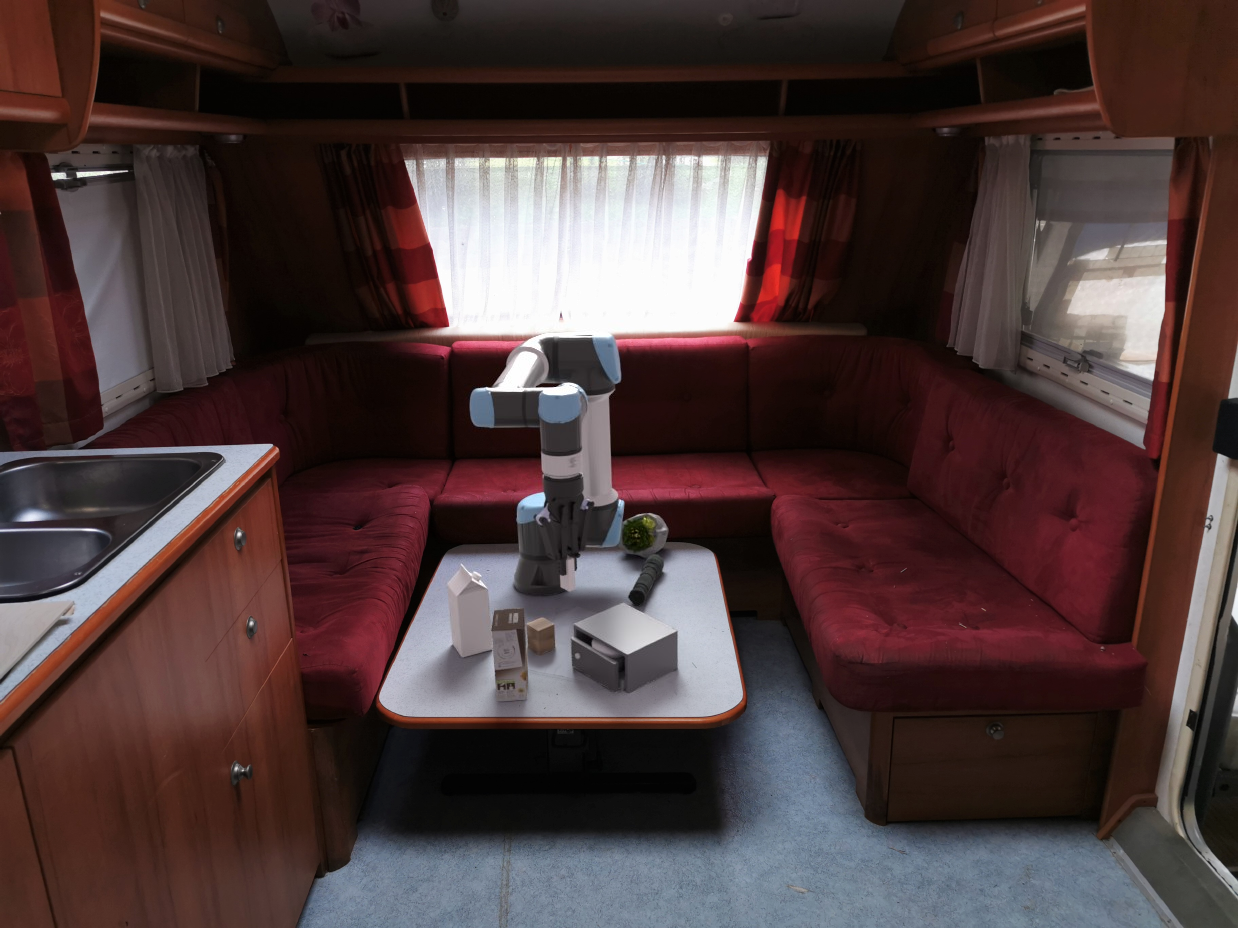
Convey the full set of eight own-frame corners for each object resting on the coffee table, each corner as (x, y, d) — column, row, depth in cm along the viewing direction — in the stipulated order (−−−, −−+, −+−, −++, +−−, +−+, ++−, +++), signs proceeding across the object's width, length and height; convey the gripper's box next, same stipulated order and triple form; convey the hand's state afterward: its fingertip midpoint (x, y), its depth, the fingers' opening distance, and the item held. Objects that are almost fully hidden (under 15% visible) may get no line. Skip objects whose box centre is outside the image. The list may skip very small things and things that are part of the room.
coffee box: (528, 700, 181) (523, 629, 176) (496, 702, 181) (490, 631, 176) (528, 675, 190) (524, 607, 185) (498, 677, 189) (492, 608, 184)
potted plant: (678, 535, 250) (668, 543, 235) (642, 563, 252) (630, 571, 238) (651, 501, 251) (639, 506, 236) (616, 528, 254) (602, 535, 239)
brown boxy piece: (527, 647, 201) (526, 623, 199) (543, 640, 203) (542, 617, 201) (539, 655, 197) (538, 630, 196) (555, 648, 200) (554, 624, 198)
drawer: (569, 665, 192) (567, 638, 190) (618, 642, 201) (618, 616, 199) (614, 694, 182) (613, 665, 180) (665, 668, 190) (664, 641, 188)
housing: (575, 661, 195) (573, 623, 192) (623, 638, 204) (623, 602, 201) (628, 693, 183) (627, 654, 180) (677, 668, 191) (677, 630, 188)
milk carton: (462, 658, 197) (455, 579, 191) (452, 644, 203) (445, 567, 197) (493, 650, 200) (487, 572, 194) (482, 636, 206) (476, 560, 200)
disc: (584, 647, 189) (584, 640, 189) (614, 635, 194) (613, 628, 194) (608, 663, 184) (607, 655, 183) (638, 649, 188) (638, 642, 188)
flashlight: (664, 571, 236) (664, 554, 235) (646, 608, 218) (646, 589, 216) (646, 570, 238) (646, 552, 236) (626, 606, 219) (626, 587, 217)
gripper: (546, 485, 160) (552, 605, 167) (602, 468, 168) (606, 583, 175) (521, 475, 165) (528, 592, 173) (577, 459, 173) (582, 571, 181)
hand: (568, 587), depth 174 cm, fingers closed
